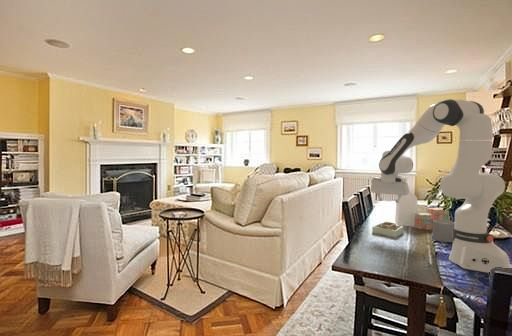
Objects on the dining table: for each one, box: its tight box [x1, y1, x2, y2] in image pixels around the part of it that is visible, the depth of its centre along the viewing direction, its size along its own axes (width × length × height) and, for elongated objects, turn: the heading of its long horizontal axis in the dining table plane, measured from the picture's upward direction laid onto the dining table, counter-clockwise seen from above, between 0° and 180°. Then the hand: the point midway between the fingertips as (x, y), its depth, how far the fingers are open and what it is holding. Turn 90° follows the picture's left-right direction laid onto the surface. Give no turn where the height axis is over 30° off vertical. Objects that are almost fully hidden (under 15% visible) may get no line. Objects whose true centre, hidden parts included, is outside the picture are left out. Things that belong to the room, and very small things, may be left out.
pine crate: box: [380, 221, 397, 230], centre depth 166 cm, size 6×9×5 cm, turn 136°
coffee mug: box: [432, 220, 455, 243], centre depth 153 cm, size 13×10×10 cm
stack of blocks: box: [413, 207, 450, 230], centre depth 178 cm, size 21×6×12 cm, turn 99°
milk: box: [394, 184, 419, 227], centre depth 188 cm, size 12×12×26 cm
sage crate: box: [371, 222, 404, 239], centre depth 166 cm, size 13×13×4 cm
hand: (388, 201), depth 165 cm, fingers open, 8 cm apart
